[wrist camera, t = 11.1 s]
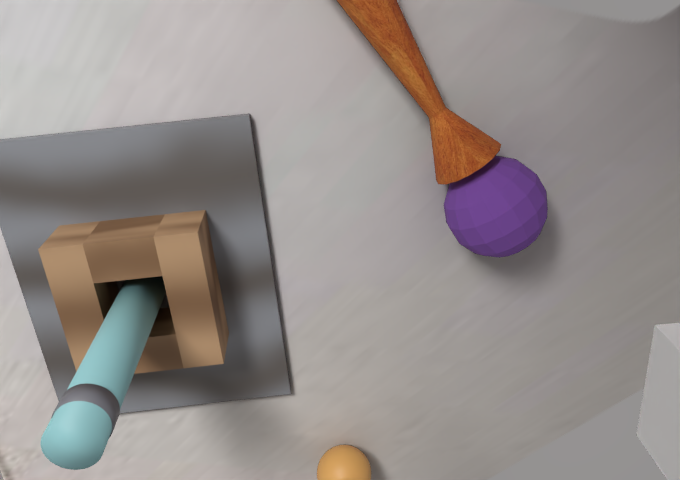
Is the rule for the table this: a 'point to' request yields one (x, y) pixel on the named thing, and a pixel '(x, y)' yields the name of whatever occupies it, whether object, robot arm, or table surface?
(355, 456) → the figurine
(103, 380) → the banded teal rod
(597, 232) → the table surface
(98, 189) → the gray base plate
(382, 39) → the kendama
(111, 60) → the table surface
